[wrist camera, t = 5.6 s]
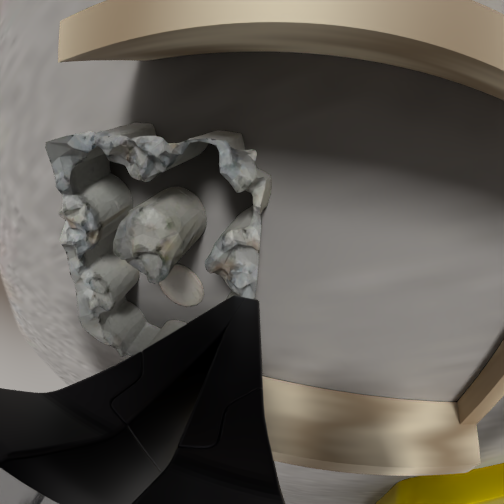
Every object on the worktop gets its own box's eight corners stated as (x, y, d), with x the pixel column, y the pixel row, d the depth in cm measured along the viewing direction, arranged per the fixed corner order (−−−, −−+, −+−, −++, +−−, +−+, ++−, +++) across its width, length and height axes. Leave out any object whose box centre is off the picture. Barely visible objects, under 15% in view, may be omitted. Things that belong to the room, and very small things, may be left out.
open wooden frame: (596, 122, 4) (661, 151, 1) (462, 413, 12) (467, 472, 9) (147, 30, 8) (60, 21, 4) (180, 365, 16) (147, 419, 13)
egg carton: (247, 358, 15) (218, 425, 11) (121, 308, 16) (78, 357, 12) (301, 140, 9) (271, 172, 5) (110, 109, 10) (28, 131, 7)
